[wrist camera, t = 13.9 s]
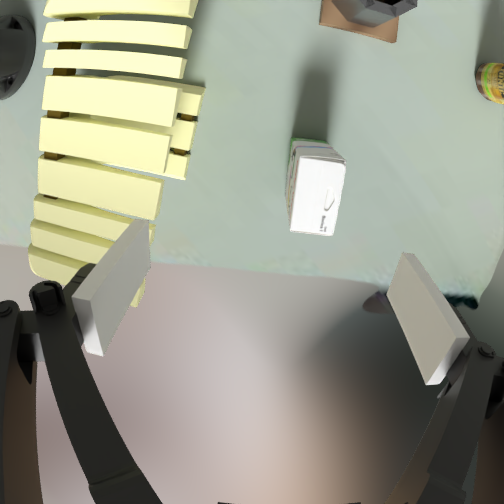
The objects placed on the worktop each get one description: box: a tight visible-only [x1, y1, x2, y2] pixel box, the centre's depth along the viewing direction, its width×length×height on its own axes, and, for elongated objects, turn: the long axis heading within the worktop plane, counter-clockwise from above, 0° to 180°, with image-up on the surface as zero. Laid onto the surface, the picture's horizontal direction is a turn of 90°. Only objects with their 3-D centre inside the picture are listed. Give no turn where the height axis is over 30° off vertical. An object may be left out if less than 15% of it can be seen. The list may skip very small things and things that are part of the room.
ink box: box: [285, 138, 346, 236], centre depth 37 cm, size 8×5×12 cm, turn 176°
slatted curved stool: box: [28, 0, 206, 307], centre depth 32 cm, size 30×16×18 cm, turn 166°
